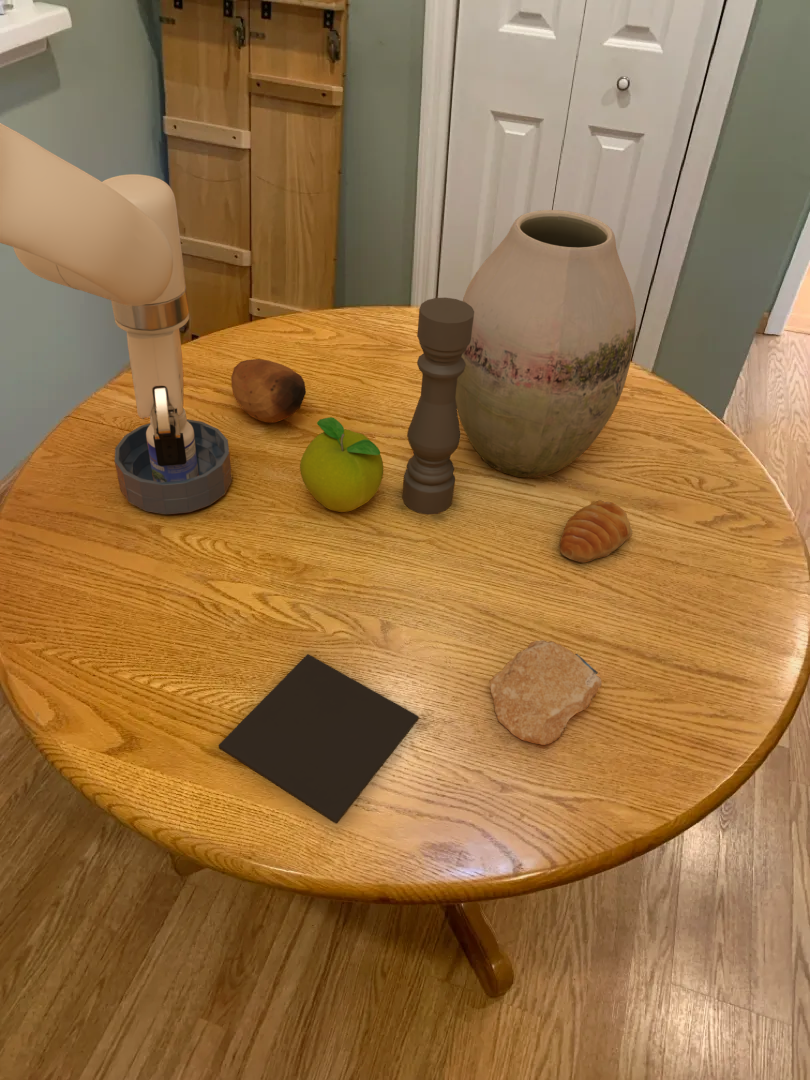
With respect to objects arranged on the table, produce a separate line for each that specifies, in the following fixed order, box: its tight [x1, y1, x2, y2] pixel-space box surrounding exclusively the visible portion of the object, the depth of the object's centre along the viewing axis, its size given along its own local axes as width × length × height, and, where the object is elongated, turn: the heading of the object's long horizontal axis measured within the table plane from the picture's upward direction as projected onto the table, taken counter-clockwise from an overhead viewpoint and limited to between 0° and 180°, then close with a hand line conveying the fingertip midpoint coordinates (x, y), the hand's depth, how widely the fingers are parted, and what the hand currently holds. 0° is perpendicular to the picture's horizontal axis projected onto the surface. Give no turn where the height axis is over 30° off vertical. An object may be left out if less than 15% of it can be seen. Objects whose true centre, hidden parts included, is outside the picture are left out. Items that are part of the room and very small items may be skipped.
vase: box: [455, 209, 637, 479], centre depth 102 cm, size 21×21×30 cm
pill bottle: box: [146, 406, 199, 482], centre depth 99 cm, size 5×5×10 cm
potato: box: [230, 358, 307, 423], centre depth 112 cm, size 8×14×8 cm
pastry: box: [559, 499, 633, 563], centre depth 98 cm, size 9×7×4 cm
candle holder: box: [401, 297, 474, 515], centre depth 95 cm, size 6×6×25 cm
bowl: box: [114, 418, 233, 515], centre depth 101 cm, size 13×13×5 cm
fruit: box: [299, 416, 384, 513], centre depth 99 cm, size 9×9×10 cm
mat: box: [218, 653, 419, 825], centre depth 77 cm, size 13×13×1 cm
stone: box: [489, 639, 603, 746], centre depth 80 cm, size 8×10×4 cm
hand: (171, 446), depth 99 cm, fingers closed on pill bottle, 5 cm apart
